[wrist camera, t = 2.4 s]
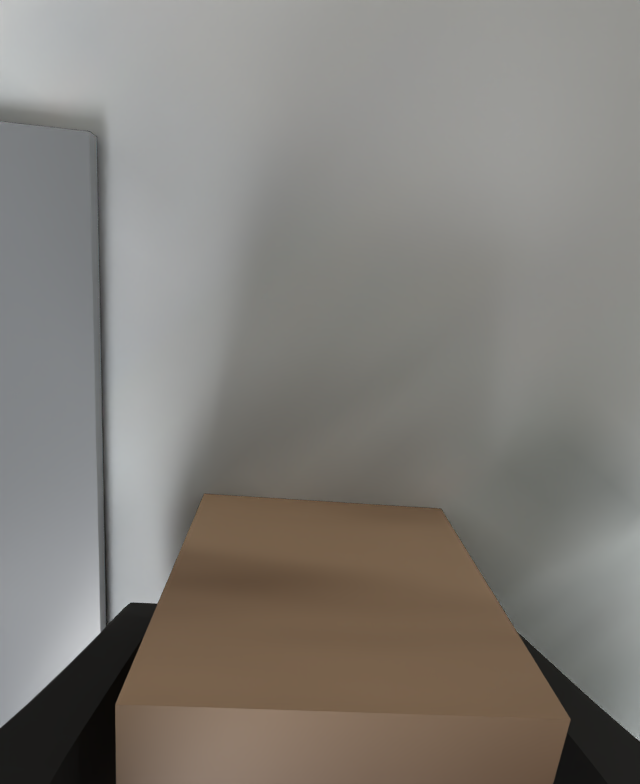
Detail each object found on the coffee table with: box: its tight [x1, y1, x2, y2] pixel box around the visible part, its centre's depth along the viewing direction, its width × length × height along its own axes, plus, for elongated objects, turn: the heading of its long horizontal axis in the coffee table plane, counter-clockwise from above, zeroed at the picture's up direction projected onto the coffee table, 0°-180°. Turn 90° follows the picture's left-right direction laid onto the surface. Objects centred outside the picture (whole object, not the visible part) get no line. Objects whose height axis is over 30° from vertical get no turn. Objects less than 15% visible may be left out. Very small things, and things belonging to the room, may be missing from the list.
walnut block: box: [115, 494, 571, 784], centre depth 8 cm, size 5×5×5 cm
